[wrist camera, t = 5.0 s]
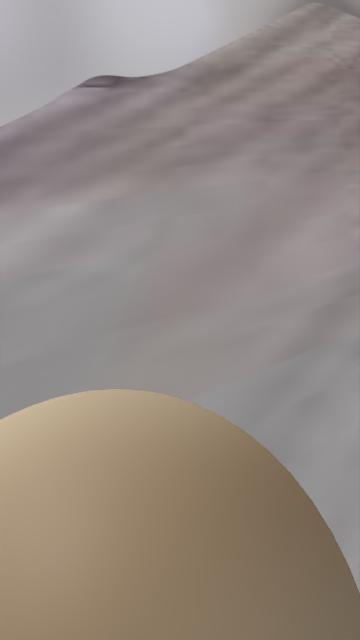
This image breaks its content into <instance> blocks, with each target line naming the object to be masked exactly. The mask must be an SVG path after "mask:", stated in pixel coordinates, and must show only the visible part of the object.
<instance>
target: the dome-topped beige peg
mask: <svg viewBox="0 0 360 640" xmlns="http://www.w3.org/2000/svg"><path fill="white" fill-rule="evenodd" d="M0 640H360V594H359V591H358V588H357V586H356V583H355V581H354V578H353V575H352V573H351V570H350V568H349V566H348V564H347V562H346V560H345V558H344V556H343V554H342V552H341V550H340V548H339V546H338V544H337V542H336V540H335V538H334V536H333V534H332V532H331V530H330V529H329V527H328V526H327V524H326V522H325V521H324V519H323V518H322V516H321V514H320V513H319V511H318V510H317V508H316V506H315V505H314V503H313V502H312V500H311V499H310V498H309V496H308V495H307V494H306V492H305V491H304V490H303V489H302V487H301V486H300V485H299V484H298V482H297V481H296V480H295V478H294V477H293V476H292V475H291V473H290V472H289V471H288V470H287V469H286V468H285V467H284V466H283V465H282V464H281V463H280V462H279V461H278V460H277V459H276V458H275V457H274V456H273V455H272V454H271V453H270V452H269V451H268V450H267V449H266V448H265V447H264V446H262V445H261V444H260V443H259V442H257V441H256V440H255V439H254V438H253V437H251V436H250V435H249V434H248V433H246V432H245V431H244V430H242V429H241V428H239V427H238V426H236V425H234V424H233V423H231V422H230V421H228V420H226V419H225V418H223V417H222V416H220V415H218V414H216V413H214V412H212V411H209V410H207V409H205V408H203V407H201V406H199V405H197V404H194V403H191V402H188V401H185V400H182V399H179V398H176V397H173V396H170V395H165V394H159V393H154V392H148V391H143V390H125V389H109V390H95V391H85V392H80V393H75V394H70V395H65V396H60V397H57V398H54V399H51V400H47V401H44V402H41V403H38V404H35V405H32V406H29V407H27V408H25V409H23V410H20V411H18V412H16V413H14V414H12V415H9V416H7V417H5V418H3V419H1V420H0Z"/></svg>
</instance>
